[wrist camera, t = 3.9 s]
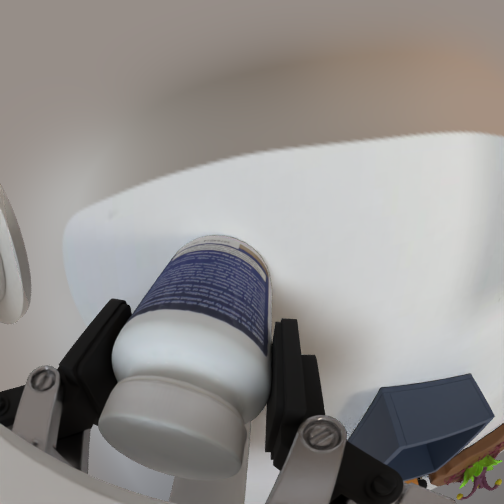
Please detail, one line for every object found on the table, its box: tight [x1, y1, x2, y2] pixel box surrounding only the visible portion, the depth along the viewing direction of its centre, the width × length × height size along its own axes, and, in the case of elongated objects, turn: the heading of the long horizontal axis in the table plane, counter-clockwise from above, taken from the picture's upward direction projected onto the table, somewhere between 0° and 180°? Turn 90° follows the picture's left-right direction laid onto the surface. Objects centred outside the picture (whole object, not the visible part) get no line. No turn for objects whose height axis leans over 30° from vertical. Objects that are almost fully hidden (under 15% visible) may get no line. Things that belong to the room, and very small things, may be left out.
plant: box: [429, 424, 504, 500], centre depth 22 cm, size 20×20×11 cm
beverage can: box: [169, 421, 251, 504], centre depth 14 cm, size 5×5×12 cm
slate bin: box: [348, 374, 494, 482], centre depth 17 cm, size 10×10×6 cm
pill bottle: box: [98, 235, 272, 480], centre depth 10 cm, size 5×5×10 cm
